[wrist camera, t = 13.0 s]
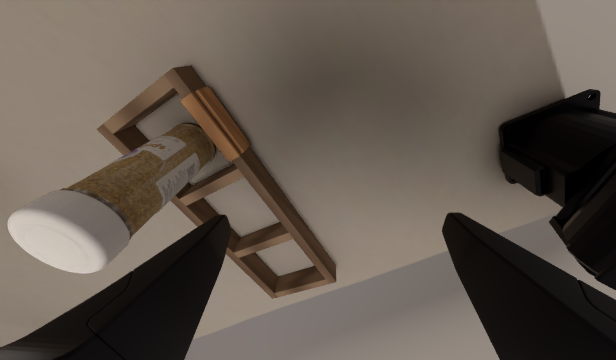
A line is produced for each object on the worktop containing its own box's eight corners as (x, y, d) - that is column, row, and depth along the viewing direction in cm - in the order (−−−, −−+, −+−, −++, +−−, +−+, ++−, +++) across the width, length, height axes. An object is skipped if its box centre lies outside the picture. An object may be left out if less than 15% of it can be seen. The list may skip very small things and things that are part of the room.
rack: (194, 62, 18) (174, 65, 16) (338, 264, 30) (339, 283, 28) (119, 121, 22) (93, 130, 19) (276, 282, 33) (272, 300, 31)
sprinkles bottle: (187, 112, 21) (11, 195, 9) (225, 147, 22) (117, 255, 11) (163, 141, 22) (-9, 242, 11) (200, 172, 24) (84, 287, 13)
